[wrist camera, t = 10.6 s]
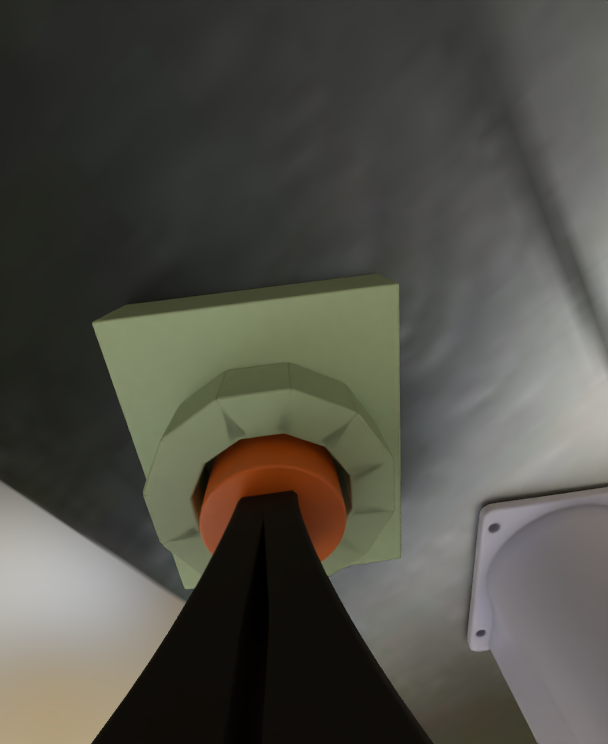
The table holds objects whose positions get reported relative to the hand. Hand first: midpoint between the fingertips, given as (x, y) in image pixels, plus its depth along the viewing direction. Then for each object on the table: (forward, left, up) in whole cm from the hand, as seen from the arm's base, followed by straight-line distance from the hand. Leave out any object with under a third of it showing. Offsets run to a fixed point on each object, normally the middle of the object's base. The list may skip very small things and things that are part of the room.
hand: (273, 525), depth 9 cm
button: (0, 0, -2) cm, 2 cm away
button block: (0, 0, -5) cm, 5 cm away
